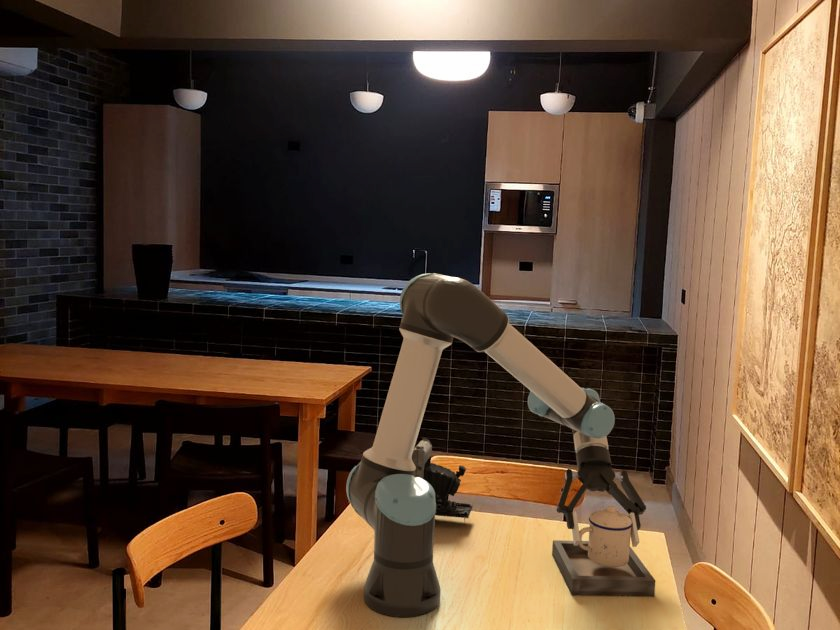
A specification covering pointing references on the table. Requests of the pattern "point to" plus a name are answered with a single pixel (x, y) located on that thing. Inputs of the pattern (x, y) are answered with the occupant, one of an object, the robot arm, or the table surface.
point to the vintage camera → (440, 481)
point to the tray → (601, 573)
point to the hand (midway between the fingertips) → (606, 543)
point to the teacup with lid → (608, 537)
